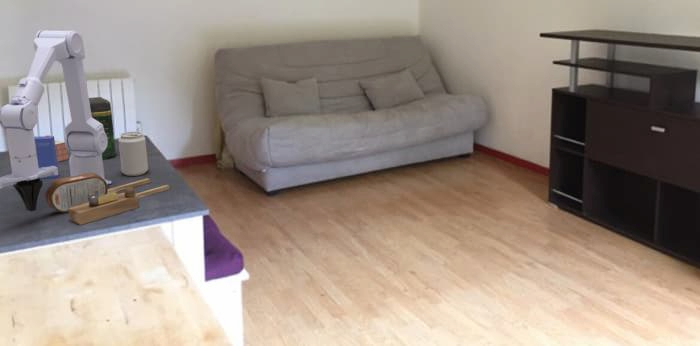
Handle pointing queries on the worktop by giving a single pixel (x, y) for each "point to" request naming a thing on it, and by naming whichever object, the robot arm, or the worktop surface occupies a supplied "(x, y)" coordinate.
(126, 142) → the can
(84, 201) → the tin
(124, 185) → the oak guide strips
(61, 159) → the puzzle toy
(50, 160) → the walkman
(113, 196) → the brass lever
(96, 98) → the coffee jar
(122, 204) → the wooden block with knobs
